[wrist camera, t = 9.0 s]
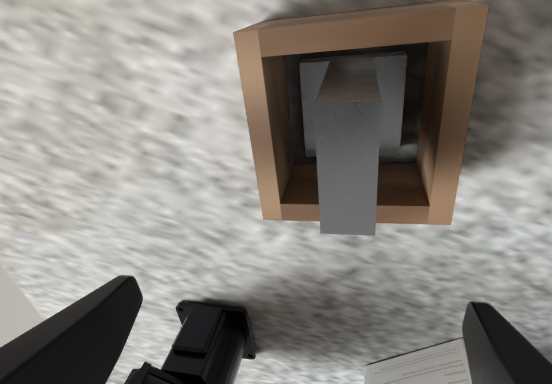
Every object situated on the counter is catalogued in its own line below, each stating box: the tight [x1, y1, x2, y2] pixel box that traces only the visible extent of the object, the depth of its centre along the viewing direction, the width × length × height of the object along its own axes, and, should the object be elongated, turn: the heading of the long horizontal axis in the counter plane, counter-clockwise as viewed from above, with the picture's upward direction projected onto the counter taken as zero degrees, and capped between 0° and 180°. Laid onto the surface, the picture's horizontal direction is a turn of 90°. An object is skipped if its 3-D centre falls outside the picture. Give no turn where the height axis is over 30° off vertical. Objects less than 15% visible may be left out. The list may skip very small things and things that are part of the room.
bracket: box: [299, 51, 407, 236], centre depth 15 cm, size 5×5×8 cm
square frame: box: [233, 0, 489, 225], centre depth 16 cm, size 9×9×4 cm
